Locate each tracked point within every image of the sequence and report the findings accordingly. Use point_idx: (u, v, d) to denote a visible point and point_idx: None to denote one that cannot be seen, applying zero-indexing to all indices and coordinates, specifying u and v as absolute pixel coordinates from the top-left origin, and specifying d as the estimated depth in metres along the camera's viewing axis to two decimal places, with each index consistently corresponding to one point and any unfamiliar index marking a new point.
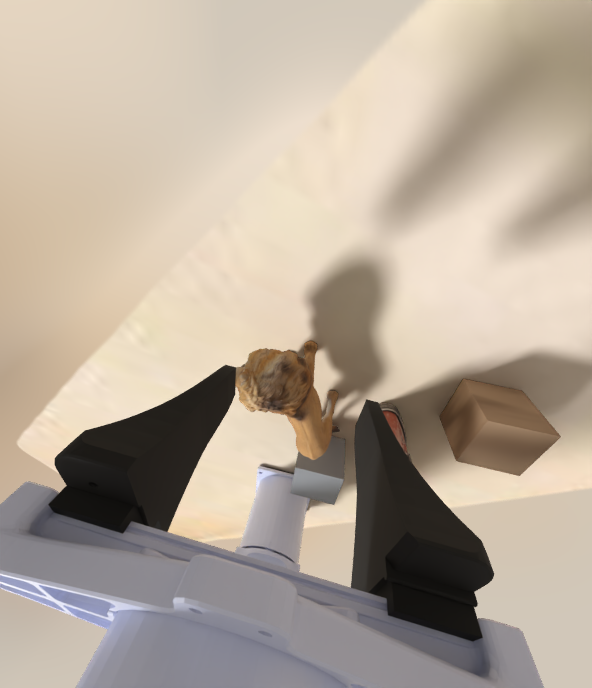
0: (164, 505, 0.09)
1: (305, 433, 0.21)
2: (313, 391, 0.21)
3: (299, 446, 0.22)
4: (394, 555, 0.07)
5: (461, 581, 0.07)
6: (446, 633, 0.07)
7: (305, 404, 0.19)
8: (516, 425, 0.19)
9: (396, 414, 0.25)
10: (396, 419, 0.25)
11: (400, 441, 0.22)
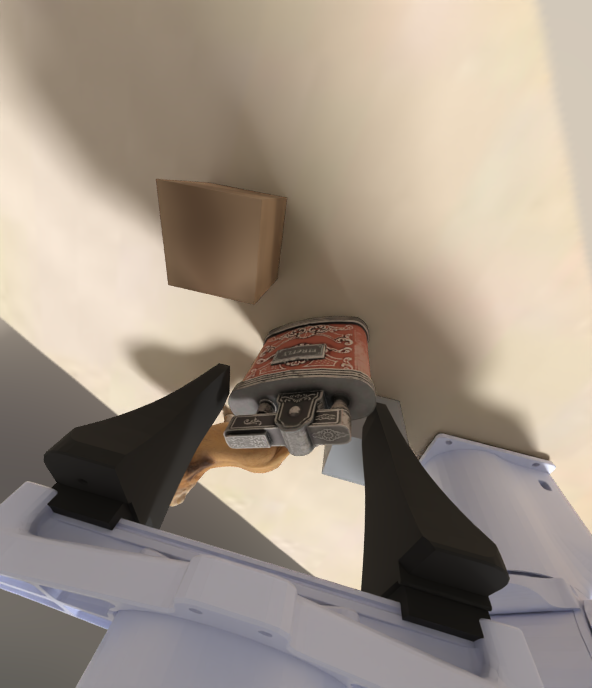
0: (155, 502, 0.09)
1: (231, 462, 0.19)
2: None
3: None
4: (408, 559, 0.07)
5: (476, 585, 0.07)
6: (461, 637, 0.07)
7: None
8: (166, 244, 0.13)
9: (269, 336, 0.19)
10: (267, 341, 0.19)
11: (255, 361, 0.17)
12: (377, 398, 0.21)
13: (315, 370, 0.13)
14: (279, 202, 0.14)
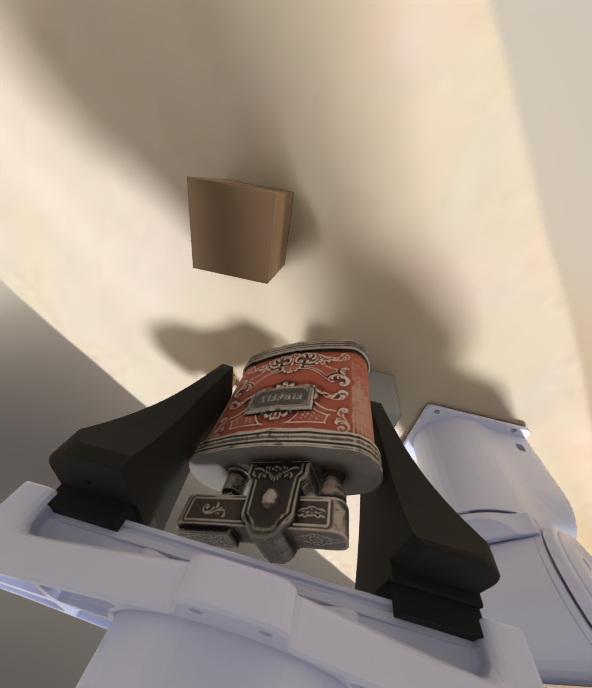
0: (160, 504, 0.09)
1: None
2: None
3: None
4: (400, 557, 0.07)
5: (467, 583, 0.07)
6: (452, 634, 0.07)
7: None
8: (192, 232, 0.16)
9: (249, 365, 0.16)
10: (246, 372, 0.16)
11: (229, 403, 0.13)
12: (373, 372, 0.24)
13: (299, 434, 0.09)
14: (288, 196, 0.16)
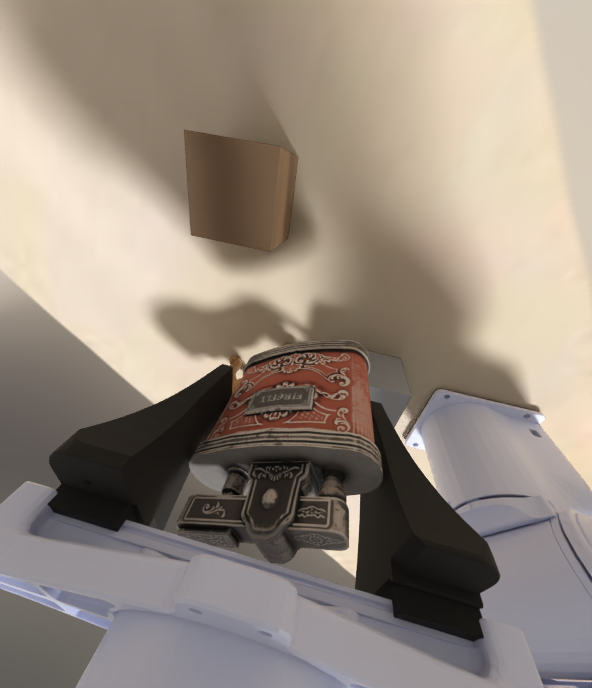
0: (160, 504, 0.09)
1: None
2: None
3: None
4: (400, 557, 0.07)
5: (467, 583, 0.07)
6: (452, 634, 0.07)
7: None
8: (190, 195, 0.15)
9: (249, 365, 0.16)
10: (246, 372, 0.16)
11: (229, 403, 0.13)
12: (380, 355, 0.23)
13: (299, 434, 0.09)
14: (292, 158, 0.15)
